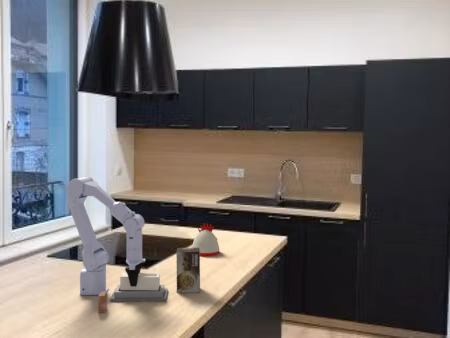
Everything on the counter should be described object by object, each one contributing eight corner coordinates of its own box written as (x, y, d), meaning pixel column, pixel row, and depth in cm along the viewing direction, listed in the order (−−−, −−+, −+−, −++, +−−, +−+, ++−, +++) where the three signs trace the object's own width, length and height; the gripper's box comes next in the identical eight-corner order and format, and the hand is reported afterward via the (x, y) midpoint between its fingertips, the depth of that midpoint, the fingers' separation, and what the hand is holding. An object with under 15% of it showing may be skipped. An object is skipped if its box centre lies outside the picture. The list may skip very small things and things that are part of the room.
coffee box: (199, 287, 210) (200, 247, 209) (200, 292, 204) (200, 251, 203) (176, 287, 210) (176, 247, 208) (176, 292, 203) (176, 251, 202)
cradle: (110, 301, 193) (110, 293, 192) (115, 291, 205) (115, 283, 204) (165, 301, 194) (165, 293, 193) (167, 290, 206) (167, 283, 205)
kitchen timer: (218, 256, 259) (219, 226, 258) (190, 256, 259) (190, 225, 258) (219, 249, 273) (220, 220, 271) (192, 249, 273) (193, 220, 272)
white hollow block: (158, 290, 196) (158, 277, 196) (120, 290, 196) (120, 276, 195) (159, 285, 202) (159, 272, 202) (122, 285, 201) (122, 272, 201)
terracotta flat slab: (98, 313, 181) (98, 296, 181) (101, 308, 186) (101, 291, 186) (104, 313, 181) (104, 295, 181) (106, 308, 186) (106, 291, 186)
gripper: (143, 252, 190) (143, 289, 192) (147, 243, 205) (147, 277, 206) (123, 252, 190) (123, 289, 191) (128, 243, 204) (128, 277, 206)
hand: (134, 283), depth 199 cm, fingers closed on white hollow block, 5 cm apart
